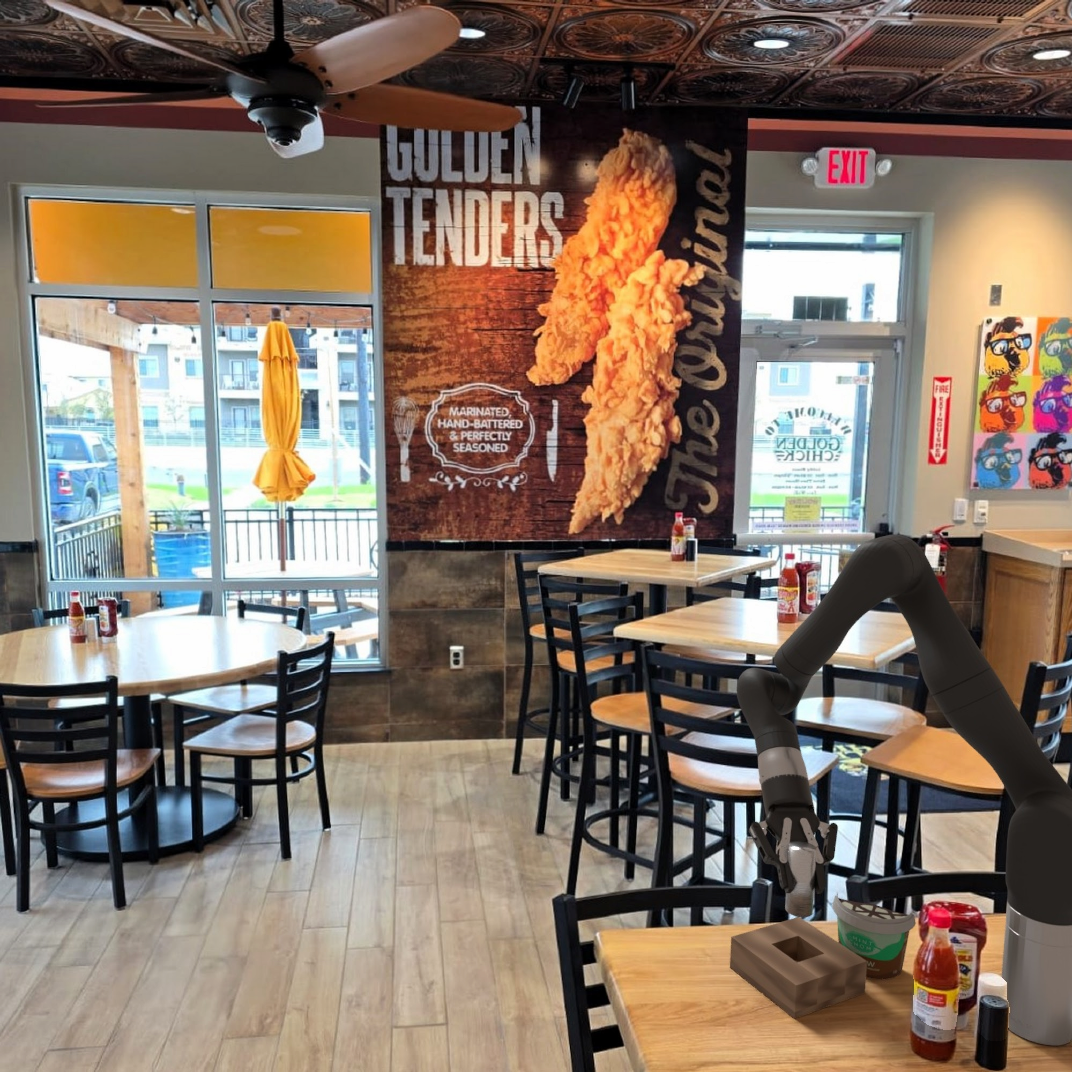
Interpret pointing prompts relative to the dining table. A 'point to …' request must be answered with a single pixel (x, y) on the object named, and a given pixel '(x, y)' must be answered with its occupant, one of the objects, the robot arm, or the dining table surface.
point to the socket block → (798, 966)
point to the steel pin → (801, 878)
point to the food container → (874, 935)
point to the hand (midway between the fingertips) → (804, 891)
